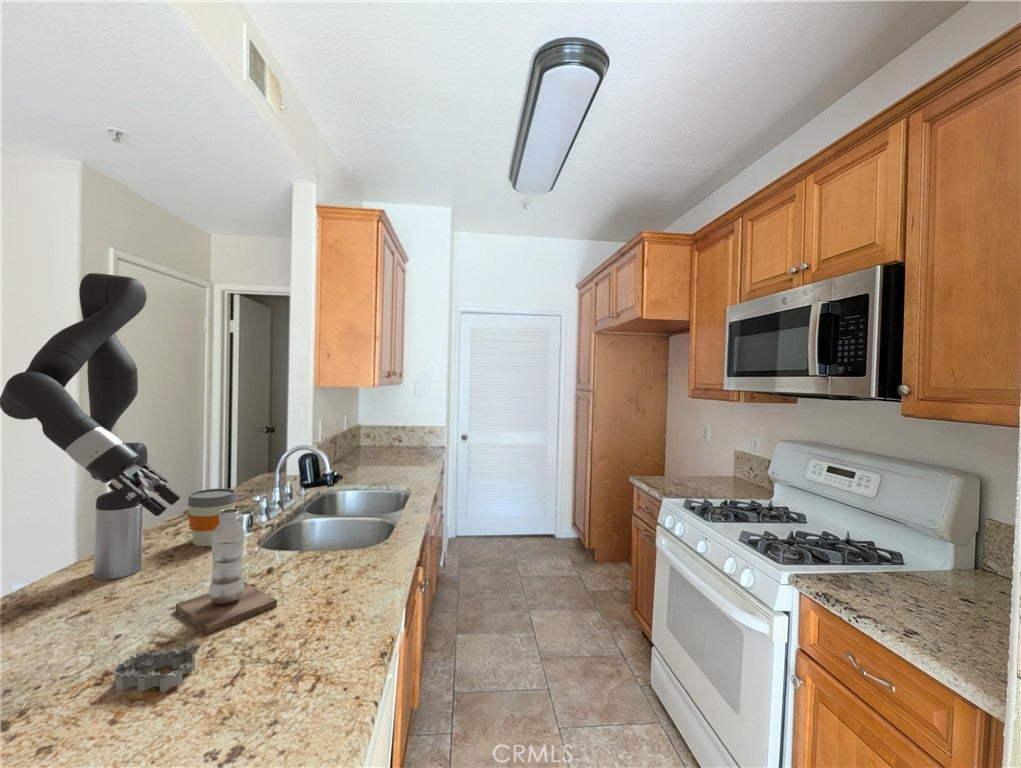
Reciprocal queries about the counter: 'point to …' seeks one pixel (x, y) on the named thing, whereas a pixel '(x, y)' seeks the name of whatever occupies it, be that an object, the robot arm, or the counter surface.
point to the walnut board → (225, 609)
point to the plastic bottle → (227, 558)
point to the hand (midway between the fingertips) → (169, 506)
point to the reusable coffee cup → (208, 512)
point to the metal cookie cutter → (152, 661)
